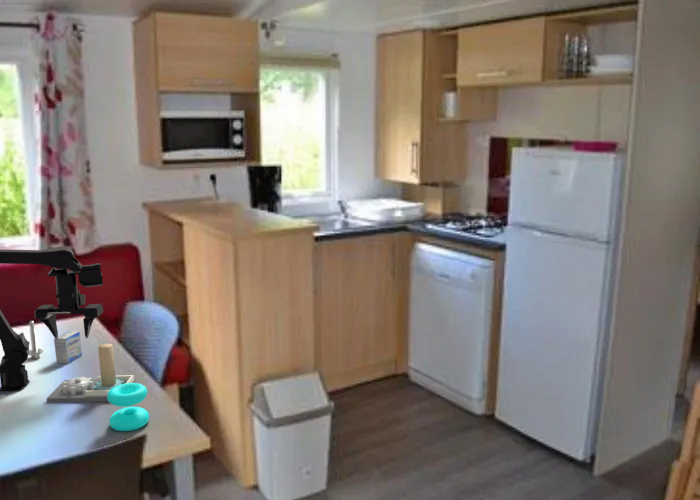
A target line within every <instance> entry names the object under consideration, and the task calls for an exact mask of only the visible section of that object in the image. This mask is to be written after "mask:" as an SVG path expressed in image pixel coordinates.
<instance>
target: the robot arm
mask: <svg viewBox="0 0 700 500" xmlns="http://www.w3.org/2000/svg"><path fill="white" fill-rule="evenodd" d="M0 264H2V265H3V264H4V265H6V264H7V265H41V266H46V267H49V268H51V270H50V271H49V272H48V278H51V277H54V278H55V286H56V294H55V298H56V299H57V305H58V306H57V307H56V306H55V305H54V304H42V305H40V306H39V307H37V308H36V309H35V310H34V319H36V320H37V319H38V320H39V322H42V323H43V324H44V325H45V326H46V327H47V328H48V330H49V332H50V333H51V335H52V336H53V337H54V339H57V338H58V337H59V332H58V326H57V316H58V315H76V314H77V315H83V316H84V318H83V320H82V321H83V328H84V336H85V339H88V338H89V335H90V332H91V328H92V324H93V322H94V320H95V319H96V318H98V317H99V316H101V315H102V314H103V313H104V306H103V305H102V304H101V303H89V304H88V305H86V298H87V297H86V294H82V293H80V289H78V284H79V285H81V286H82V287H83V288H90V287H98V286H99V287H100V286H103V285H104V284H103V283H104V282H103V274H102V270H101V263H98V262H97V263H94V264H84V265H82V263H81V262H80V261H79V260H78V259H77V258H76V257H75V253H74V251H73V250H72V248H70V247H69V246H66V245H65V246H63V245H62V246H56V247H51V248H50V247H49V248H47V249H4V248H3V249H0ZM77 275H78V276H77ZM77 277H78V281H77ZM77 282H78V283H77ZM85 305H86V306H85ZM82 306H84V307H82ZM0 343H1V346H2V351H3V353H4V355H3V356H2V357H1V360H0V392H1V391H5V392H6V391H7V392H8V391H9V392H10V391H21V390H23V389H24V388H25V387H26V386H27V385H29V383H30V382H31V381H30V379H29V377H28V376H29V375H28V374H29V373H28V370H27V369H26V365H25V364H24V363H26V361H27V360H28V357H29V355H28V353H29V350H30V343H31V342H30V341H29V340H27V339H26V336H25V334H24V332H21V333H19V334H18V333H17V332H16V331H15V330H14V329H13V328H12V326H11V325H10V323H9V321H8V320H7V318H6V317H5V315H4V313H3V312H2V310H1V309H0Z"/></svg>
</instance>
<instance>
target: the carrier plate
mask: <svg viewBox="0 0 700 500" xmlns="http://www.w3.org/2000/svg"><path fill="white" fill-rule="evenodd" d="M115 376H116V378H118V379H119V380H120V381H124V384H125V383H136V378H135V375H134V374H132V375H131V374H129V375H125V374H123V375H115ZM96 382H101V375H98V376H97V379H94V378H93V377H86V376H85V375H84V376H80V377H71V378H69V379H64V380H63V381H62V382H61V383H60V384H59V385H58V386H57V387H56V388H55V389H54V390H53V391H52V392H51V393H50V394H49V395H48V396H47V397H46V403H71V402H72V403H73V402H74V403H76V402H81V403H82V402H85V401H86V402H109V401H108V399H107V394H108V392H109V391H110V390H94V389H93V386H95V383H96Z"/></svg>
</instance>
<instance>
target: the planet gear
mask: <svg viewBox="0 0 700 500" xmlns="http://www.w3.org/2000/svg"><path fill="white" fill-rule="evenodd" d="M97 348H98V359H99V360H98V361H99V370H100V376H101V382H96V383H95V386H93V389H94V390H111V389H112V388H113V387H115V386H118V385H121V384H124V381H120V380H119V379H118V378H116V376H117V375H116V367H115V366H116V365H115V357H114V345H113V344H112V343H103V344H99V345H98V346H97Z"/></svg>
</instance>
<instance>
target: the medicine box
mask: <svg viewBox="0 0 700 500" xmlns="http://www.w3.org/2000/svg"><path fill="white" fill-rule="evenodd" d="M53 342H54V351H55V360H56V363H57V364H67V365H69V364H70V363H72V362H74V361H75V360H77V359H78V358H81V356H82V355H83V352H82V351H83V350H82V341H81V333H80V331H77V330H76V331H75V330H69V331H66V332H65V333H62V334H61V335H58V338H57V339H55V338H54V339H53Z"/></svg>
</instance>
